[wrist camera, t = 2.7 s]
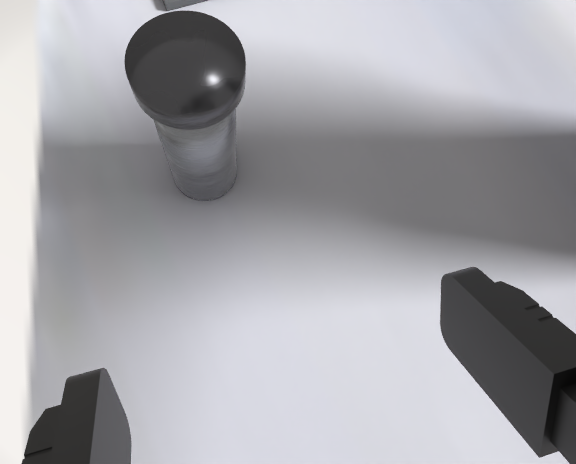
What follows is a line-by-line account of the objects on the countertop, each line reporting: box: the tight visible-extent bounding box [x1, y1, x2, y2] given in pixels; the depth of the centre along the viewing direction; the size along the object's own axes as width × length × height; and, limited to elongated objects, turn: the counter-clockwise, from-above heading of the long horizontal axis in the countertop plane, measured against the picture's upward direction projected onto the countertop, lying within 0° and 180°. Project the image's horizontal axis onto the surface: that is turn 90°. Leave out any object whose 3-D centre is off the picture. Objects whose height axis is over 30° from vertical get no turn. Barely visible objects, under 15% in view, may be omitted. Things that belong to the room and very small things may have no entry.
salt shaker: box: [125, 11, 246, 201], centre depth 23 cm, size 4×4×10 cm
